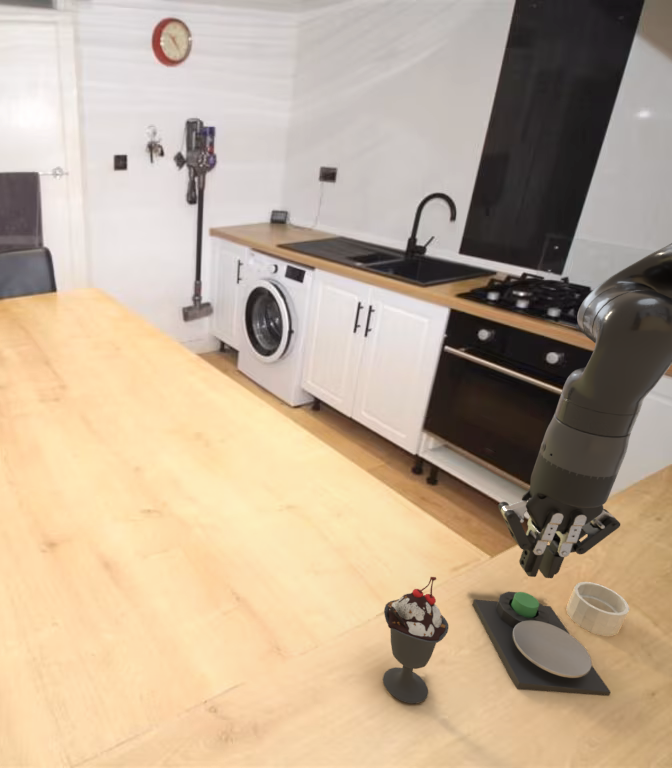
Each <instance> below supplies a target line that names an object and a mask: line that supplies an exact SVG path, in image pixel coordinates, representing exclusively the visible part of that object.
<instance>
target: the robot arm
mask: <svg viewBox="0 0 672 768" xmlns="http://www.w3.org/2000/svg"><path fill="white" fill-rule="evenodd" d="M576 320H577V326H578V327H579V329H580V331H581V333H582V334H583V335H585V337H586V338H587V339H589V340H590V341H592V342H593V343H594V344H595V345H594V349H593V350H592V351H593V352H592V354H591V355H590V358H589V360H588V361H587V364H586V366H585V367H580V368H578V369H575V370H574V371H572V372H571V373H570V374H569V375H568V377H567V378H566V380H565V383H564V384H563V387H562V390H561V393H560V396H559V399H558V402H557V404H556V408H555V411H554V414H553V416H552V418H551V420H550V422H549V424H548V426H547V428H546V431H545V433H544V436H543V439H542V442H541V443H540V448H539V451H538V454H537V456H536V460H535V464H534V466H533V469H532V472H531V475H530V482H529V483H530V484H529V488H528V490H527V491H526V492H525V493H523V495H522V497H521V500H519V501H517V502H514V503H511V504H509V502H507V501H501V502H499V503H498V505H497V508H498V510H499V512H500V515H501V517H502V519H503V521H504V523H505V525H506V528H507V530H508V532H509V534H510V536H511V538H512V539H513V540H514V542H515V543H516V544H517V546H518V547H519V549H521V550H522V551H521V555H520V558H519V560H518V563H519V565H520V567H521V568H522V570H523V571H524V573H525V574H526V575H527V576H528V577H530V578H536V577H537V576H538V572H540V573H541V575H542V576H543V577H544V578H545V579H554V577H555V575H557V574H559V572H560V570H561V568H562V564H563V562H564V559H565V558H566V557H568V556H570V555H571V554H572V553H576V554H577V555H584V554H586V553H587V552H589V551H590V550H591V549H593V548H594V547H595V546H596V545H598V544H599V543H601V542H602V541H604V539H606V538H607V537H608V536H610V535H612V534H613V533H614V532H615V531H617V530H618V529H619V528H620V527H621V522H620V521H619V520H618V519H617V518H616V517H615V516H614V514H612V513H611V512H609V511H608V510H607V509H606V508H604V505H605V504H606V503H607V502H608V499H609V496H610V495H611V492H612V489H613V487H614V484H615V483H616V482H615V481H616V479H617V476H618V475H619V472H620V470H621V467H622V465H623V462H624V460H625V457H626V455H627V452H628V447H629V442H630V437H631V434H632V431H633V429H634V427H635V424H636V422H637V419H638V417H639V414H640V412H641V409H642V406H643V402H644V400H645V398H647V396H648V395H649V393H650V392H651V391H652V390H653V389H654V388H655V387H656V386H657V385H658V383H659V382H660V380H662V378H663V376H664V375H665V374H666V373H667V371H668V370H669V369H670V367H671V366H672V242H671V243H669V244H668V245H666V246H664V247H661V248H660V249H658V250H656V251H654V252H652V253H650V254H648V255H646V256H645V257H643V258H641V259H639V260H636V261H635V262H634V263H631V264H630V265H629V266H626V267H625V268H623V269H621V270H620V271H618V272H616V273H614V274H613V275H611V276H610V277H608V278H607V279H605V280H604V281H602V282H601V283H600V284H598V285H597V286H596V287H595V288H594V289H592V291H591V292H590V293H589V294H588V295H586V297H585V298H584V300H583V301H582V303H581V304H580V306H579V308H578V311H577V318H576ZM526 513H527V514H528V515H529V517H528V520H527V523H526V524H527V530H526V531H525V529H524V527H523V525H522V524H523V523H524V522H525V514H526ZM586 535H587V536H586ZM585 536H586V537H585ZM584 537H585V538H584ZM582 538H583V540H581V539H582Z"/></svg>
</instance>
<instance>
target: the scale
mask: <svg viewBox="0 0 672 768" xmlns="http://www.w3.org/2000/svg"><path fill="white" fill-rule="evenodd" d="M517 592H518V591H506V592H504V593H501V594H500V595H499V597H498V600H486V599H473V601H472V607H473V609H474V611H475V613H476V615H477V617H478V619H479V621H480V622H481V624H482V626H483V628H484V630H485V633H486V634H487V636H488V638H489V640H490V642H491V644H492V646H493V648H494V650H495V652H496V654H497V656H498V657H499V660H500V662H501V663H502V665H503V668H504V669H505V671H506V673H507V674H508V676H509V678H510V680H511V681H512V684H513V685H514V687H515V689H516V690H523V691H524V690H525V691H538V692H551V693H563V694H564V693H565V694H578V695H579V694H580V695H591V696H607V697H609V696H610V695H611V690H610V689H609V688H608V686H607V684H606V683H605V681H603V679H602V678H601V676H600V675H599V673H598V672H597V670H596V668H594V665H591V669H590V671H589V672H588V674H586V675H585V676H582V677H578V678H568V677H562V676H558V675H555V674H552V673H550V672H548V671H546V670H544V669H542V668H540V667H538V666H537V665H535V664H534V663H532V662H531V661H530V660H528V659H527V658H526V657H525V656H524V655H523V654H522V653H521V652H520V651H519V649H518V648H517V646H516V645H515V643H514V640H513V636H512V634H513V629H514V627H515V626H516V625H517V624H518V623H520V622H522V621H529V620H532V621H540V622H544V623H548V624H551V625H553V626H556V627H558V628H560V629H562V630H564V631H565V632H567V633H568V634H570V632H569V630H568V629H567V628H566V626H565V624H563V622H562V621H561V619H560V618H559V617H558V615H557V614H556V612H555V611H554V609H553V608H552V606H550V605H544V604H542V603H541V602H539V607H538V610H537V612H536V615H535V616H534V617H532V618H528V617H524V616H522V615H519V614H518V613H516V612H515V611H514V610H513V609H512V607H511V604H512V601H513V598H514V595H515V593H517Z"/></svg>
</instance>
